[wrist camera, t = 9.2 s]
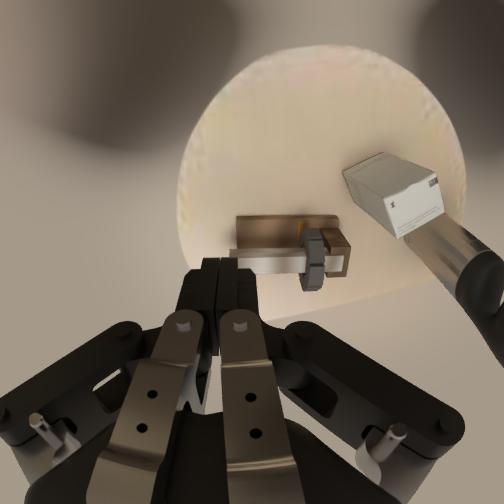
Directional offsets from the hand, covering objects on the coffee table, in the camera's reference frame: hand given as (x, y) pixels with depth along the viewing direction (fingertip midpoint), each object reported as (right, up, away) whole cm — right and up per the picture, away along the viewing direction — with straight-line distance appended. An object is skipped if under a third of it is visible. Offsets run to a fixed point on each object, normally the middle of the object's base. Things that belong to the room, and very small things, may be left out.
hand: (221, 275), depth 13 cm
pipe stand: (+7, +3, +35) cm, 36 cm away
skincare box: (+20, +13, +30) cm, 39 cm away
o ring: (+10, +2, +33) cm, 34 cm away
